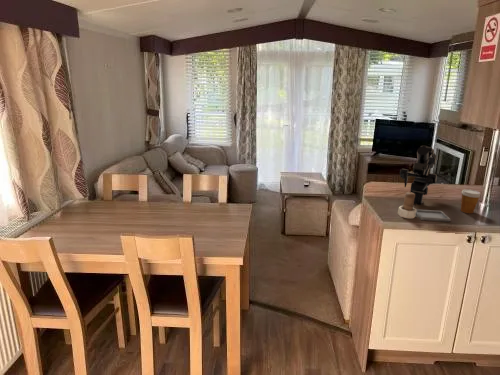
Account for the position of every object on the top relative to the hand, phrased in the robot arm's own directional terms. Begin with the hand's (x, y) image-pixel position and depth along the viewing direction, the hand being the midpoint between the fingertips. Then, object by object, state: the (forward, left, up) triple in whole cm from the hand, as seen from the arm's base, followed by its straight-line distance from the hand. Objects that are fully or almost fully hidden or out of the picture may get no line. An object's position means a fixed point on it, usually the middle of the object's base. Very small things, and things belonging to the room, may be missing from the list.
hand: (413, 188), depth 205 cm
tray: (-1, +11, -14) cm, 18 cm away
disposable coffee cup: (-25, +24, -14) cm, 37 cm away
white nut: (+7, +1, -14) cm, 16 cm away
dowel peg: (+7, +1, -14) cm, 16 cm away
